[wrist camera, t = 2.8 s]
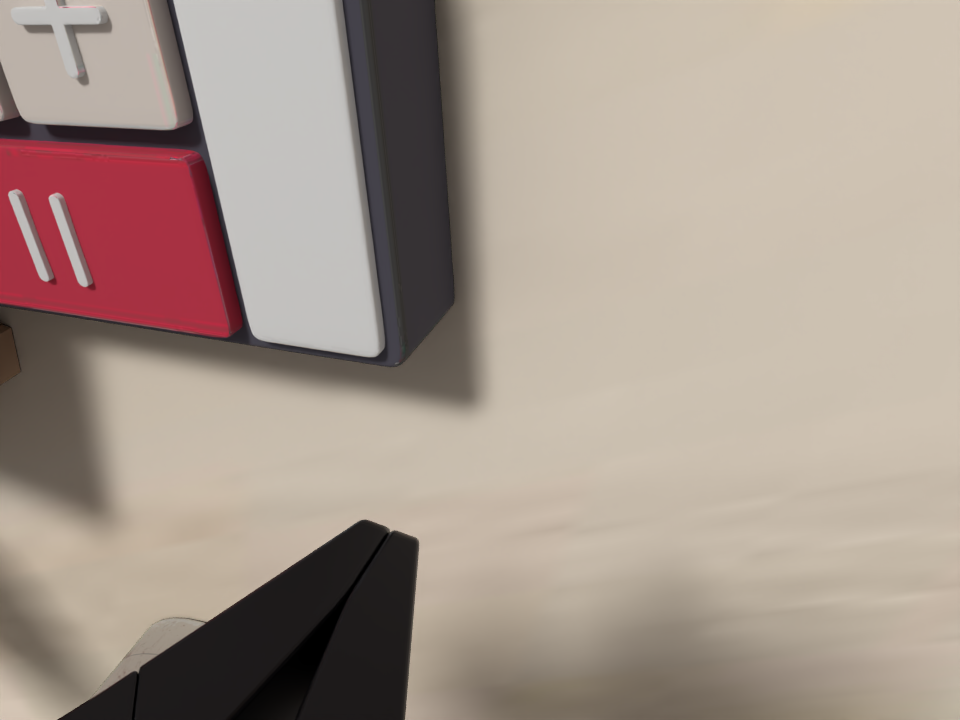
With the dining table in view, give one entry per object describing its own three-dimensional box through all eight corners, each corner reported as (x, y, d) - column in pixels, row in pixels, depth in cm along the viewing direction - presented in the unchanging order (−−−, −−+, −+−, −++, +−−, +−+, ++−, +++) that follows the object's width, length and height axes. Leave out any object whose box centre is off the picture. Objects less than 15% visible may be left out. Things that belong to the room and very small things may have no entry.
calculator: (-260, -121, 16) (320, -185, 12) (-78, -116, 20) (427, -164, 15) (-56, 314, 22) (392, 389, 17) (59, 259, 25) (458, 309, 21)
